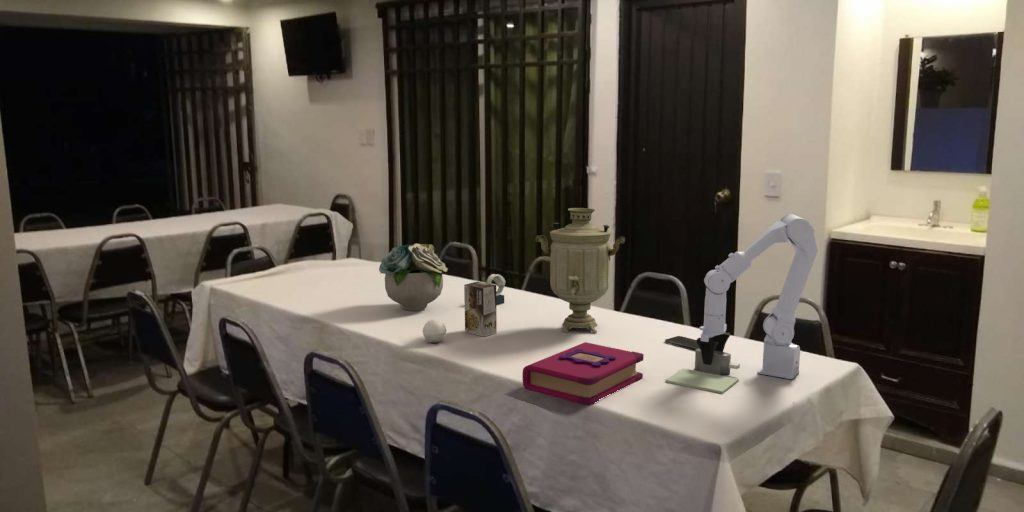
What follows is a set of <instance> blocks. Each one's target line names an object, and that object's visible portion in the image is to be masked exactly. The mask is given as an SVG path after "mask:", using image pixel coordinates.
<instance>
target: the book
mask: <svg viewBox="0 0 1024 512" xmlns="http://www.w3.org/2000/svg"><path fill="white" fill-rule="evenodd" d="M644 357H645V356H644V353H641V352H639V351H638V352H637V351H630V350H624V349H619V348H615V347H610V346H607V345H606V346H605V345H601V344H597V343H591V342H587V341H585V342H582V343H580V344H577V345H575V346H572V347H570V348H567V349H565V350H562V351H560V352H556V353H555V354H552V355H550V356H547V357H545V358H543V359H540V360H538V361H535V362H533V363H530V364H528V365H526V366H524V367H523V368H522V376H521V377H522V386H523V387H524V389H525V390H528V391H531V392H535V393H538V394H542V395H546V396H549V397H554V398H558V399H561V400H566V401H568V402H572V403H576V404H580V405H584V406H593V405H595V404H596V403H595V402H597V401H599V399H601V398H603V397H605V396H607V395H609V394H611V395H613V394H615V393H617V392H618V391H617V390H619V391H621V390H622V388H623V389H625V388H626V386H627V387H628V385H629V386H630V385H632V384H634V383H636V382H639V381H641V380H642V379H643V378H644V373H642V372H640V371H639V372H638V371H637V364H638V363H640V362H642V361H644ZM624 387H625V388H624ZM620 389H621V390H620ZM616 391H617V392H616ZM614 392H615V393H614ZM612 393H613V394H612ZM609 396H610V395H609ZM607 397H608V396H607ZM605 398H606V397H605ZM599 402H600V401H599ZM594 403H595V404H594ZM597 403H598V402H597Z"/></svg>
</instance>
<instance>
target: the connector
mask: <svg viewBox="0 0 1024 512" xmlns="http://www.w3.org/2000/svg"><path fill="white" fill-rule="evenodd" d="M694 354H695V355H694V360H695V361H694V371H699V372H705V373H710V374H715V375H720V376H725V377H728V376H730V374H731V369H732V370H733V369H734V370H738V369H740V367H741V364H740V363H736V362H732V361H731V359H732V354H731V353H728V352H724V351H723V352H720V351H714V355H713V361H712V364H711V365H707V364H703V360H702V354H701V350H700V349H696V351H695V353H694Z"/></svg>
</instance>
